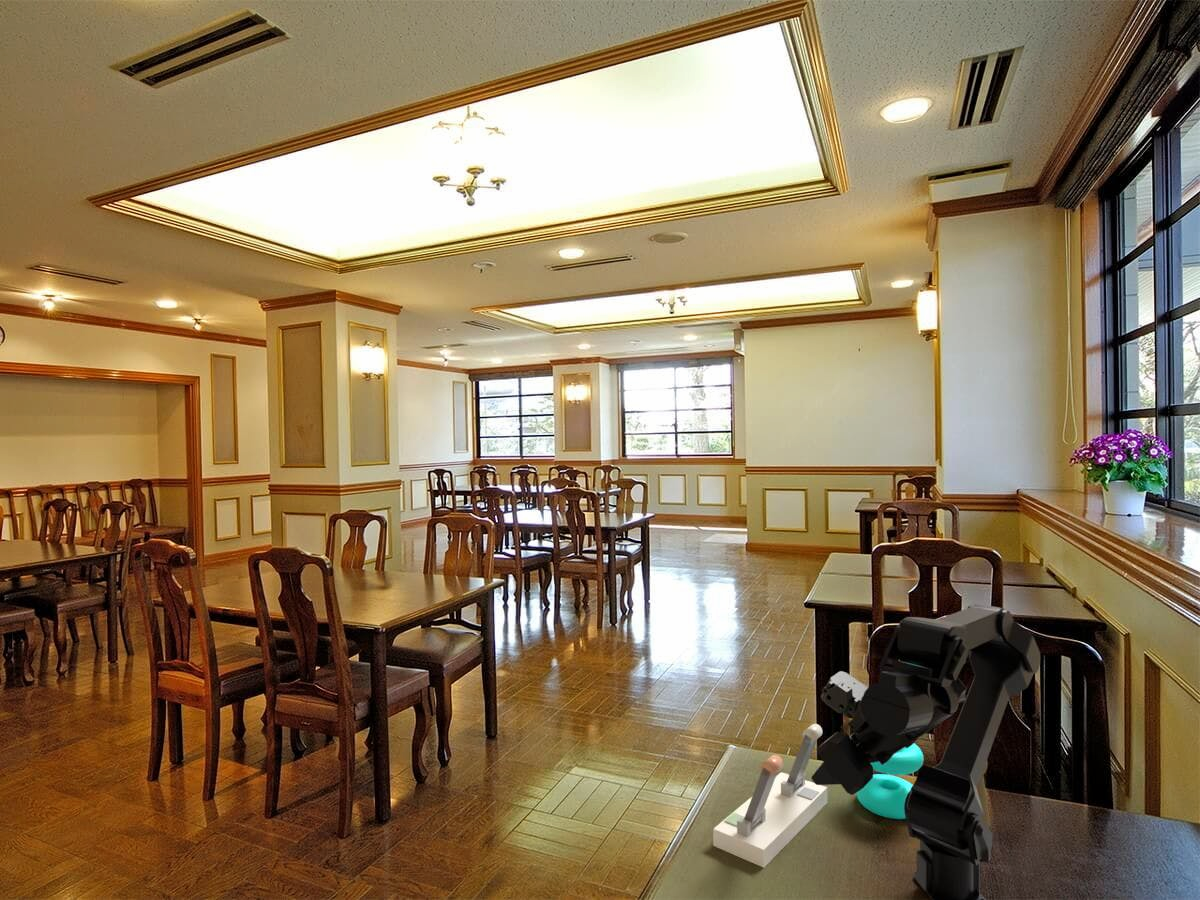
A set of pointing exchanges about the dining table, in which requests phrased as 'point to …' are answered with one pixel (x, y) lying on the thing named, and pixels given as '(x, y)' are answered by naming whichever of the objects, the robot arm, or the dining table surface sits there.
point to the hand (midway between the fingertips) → (821, 773)
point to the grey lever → (804, 754)
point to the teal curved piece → (891, 784)
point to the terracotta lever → (763, 789)
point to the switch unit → (771, 821)
